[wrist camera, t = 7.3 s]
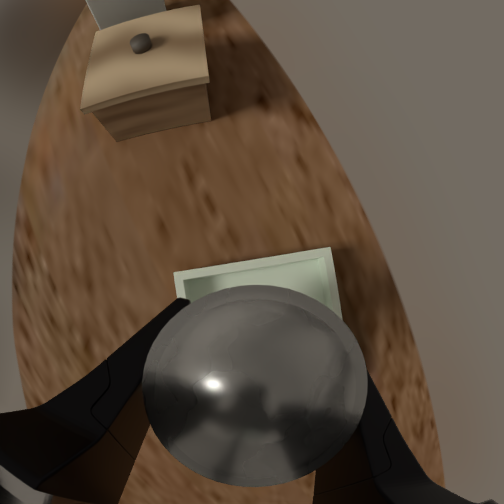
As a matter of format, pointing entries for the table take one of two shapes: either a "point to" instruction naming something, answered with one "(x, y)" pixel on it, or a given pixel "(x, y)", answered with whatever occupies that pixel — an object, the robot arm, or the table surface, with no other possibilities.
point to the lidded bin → (148, 74)
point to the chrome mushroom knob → (254, 385)
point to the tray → (268, 276)
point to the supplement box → (122, 10)
